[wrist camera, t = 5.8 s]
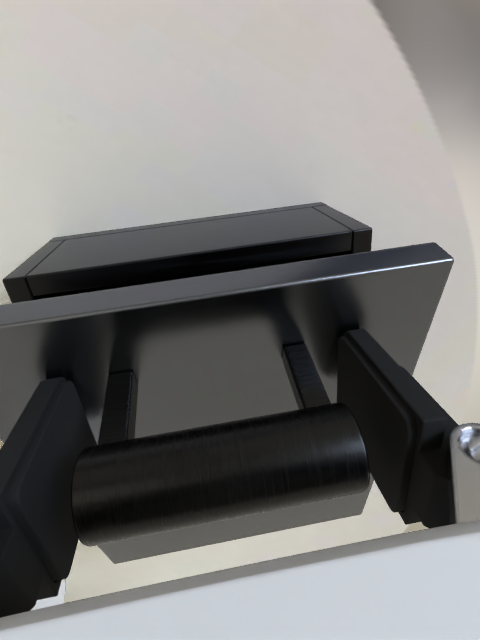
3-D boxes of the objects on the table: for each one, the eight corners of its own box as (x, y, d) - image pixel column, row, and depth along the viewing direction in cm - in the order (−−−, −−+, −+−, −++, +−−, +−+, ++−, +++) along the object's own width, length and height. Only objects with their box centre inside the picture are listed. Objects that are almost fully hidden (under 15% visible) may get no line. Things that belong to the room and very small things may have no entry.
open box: (52, 237, 18) (1, 279, 13) (321, 201, 19) (373, 227, 14) (129, 460, 25) (116, 544, 20) (321, 425, 26) (354, 496, 21)
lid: (-72, 313, 9) (-244, 535, 5) (435, 240, 10) (602, 381, 6) (115, 543, 20) (103, 673, 16) (354, 496, 21) (398, 608, 17)
